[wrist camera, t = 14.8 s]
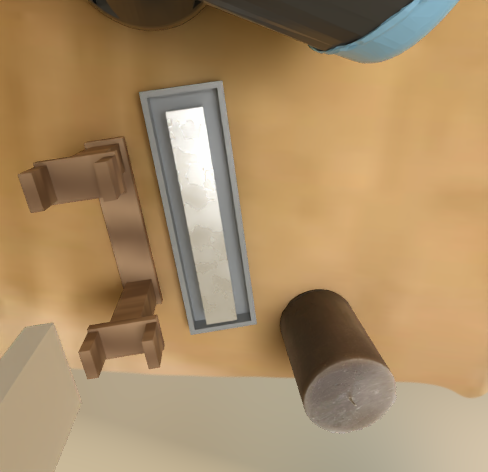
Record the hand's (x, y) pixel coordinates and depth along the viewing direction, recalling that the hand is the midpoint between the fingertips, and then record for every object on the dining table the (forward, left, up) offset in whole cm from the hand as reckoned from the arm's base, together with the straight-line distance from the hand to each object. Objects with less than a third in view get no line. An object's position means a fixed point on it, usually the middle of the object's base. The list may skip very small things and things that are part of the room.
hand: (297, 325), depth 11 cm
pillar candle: (+24, +8, -35) cm, 43 cm away
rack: (+7, -13, -35) cm, 38 cm away
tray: (+7, -4, -35) cm, 36 cm away
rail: (+7, -4, -34) cm, 35 cm away
